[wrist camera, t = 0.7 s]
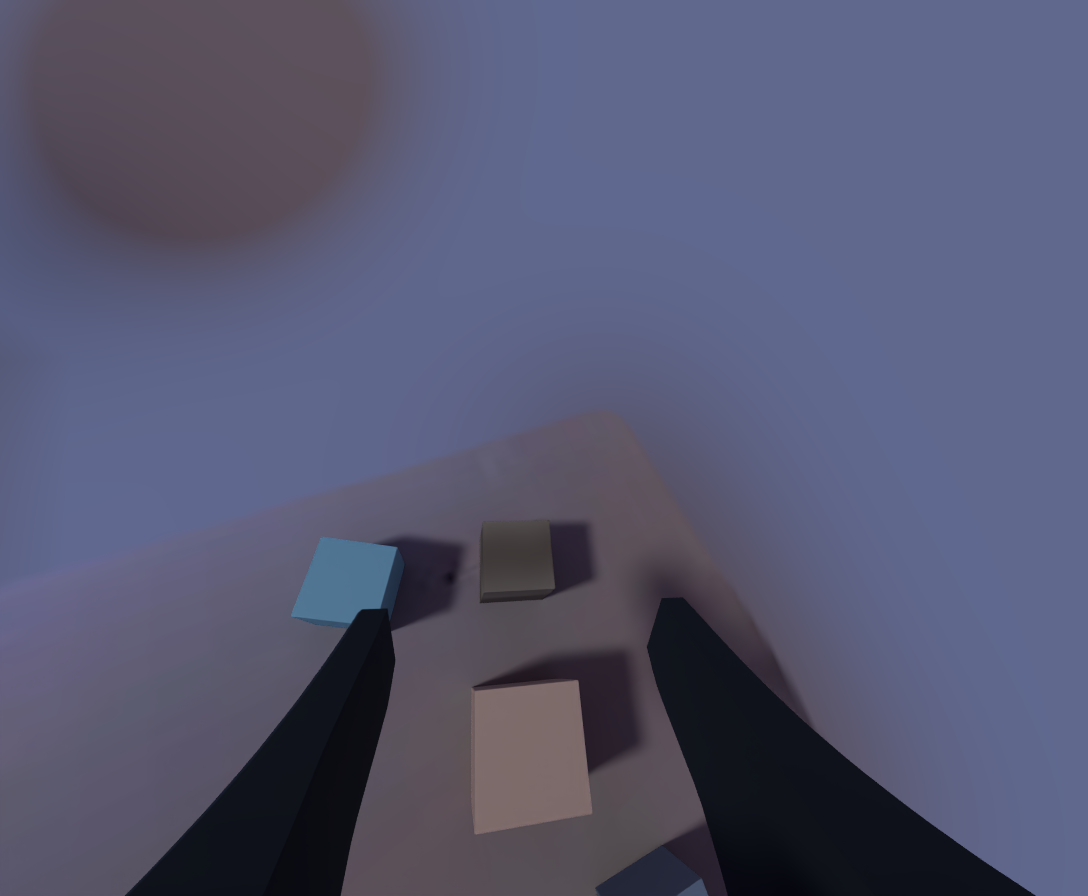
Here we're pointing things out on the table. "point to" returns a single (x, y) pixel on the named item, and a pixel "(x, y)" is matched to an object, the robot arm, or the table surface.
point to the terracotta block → (527, 754)
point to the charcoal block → (654, 878)
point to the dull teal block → (348, 582)
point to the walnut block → (515, 561)
